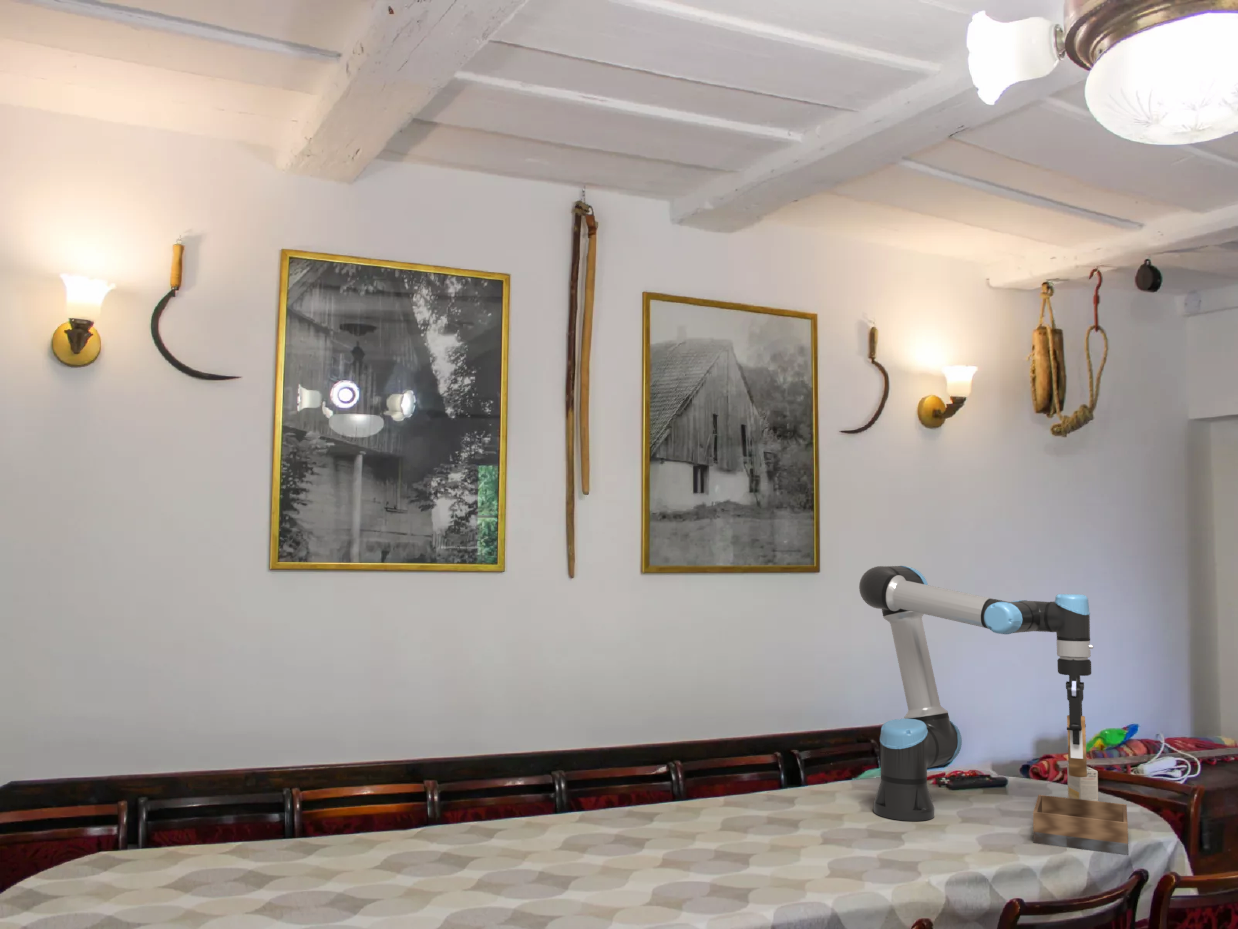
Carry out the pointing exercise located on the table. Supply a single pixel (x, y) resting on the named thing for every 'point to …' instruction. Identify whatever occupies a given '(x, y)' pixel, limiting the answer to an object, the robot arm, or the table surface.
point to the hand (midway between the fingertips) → (1077, 756)
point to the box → (1081, 824)
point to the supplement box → (1083, 785)
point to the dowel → (1075, 764)
